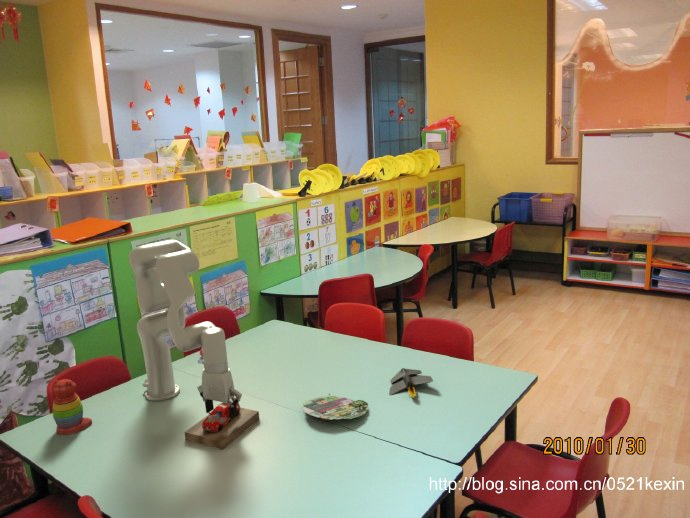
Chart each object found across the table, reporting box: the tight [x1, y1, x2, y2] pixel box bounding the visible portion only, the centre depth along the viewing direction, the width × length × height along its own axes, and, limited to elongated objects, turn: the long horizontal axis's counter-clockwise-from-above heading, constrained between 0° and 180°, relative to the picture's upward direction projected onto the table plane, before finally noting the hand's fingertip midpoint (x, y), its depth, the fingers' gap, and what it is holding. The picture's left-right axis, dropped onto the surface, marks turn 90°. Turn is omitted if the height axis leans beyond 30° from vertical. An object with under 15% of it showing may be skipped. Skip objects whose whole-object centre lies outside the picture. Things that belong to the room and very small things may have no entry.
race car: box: [202, 400, 241, 432], centre depth 191 cm, size 16×7×5 cm, turn 157°
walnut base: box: [184, 406, 260, 451], centre depth 192 cm, size 15×20×3 cm
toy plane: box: [388, 367, 434, 399], centre depth 215 cm, size 25×17×5 cm
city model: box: [301, 392, 369, 423], centre depth 199 cm, size 25×23×6 cm
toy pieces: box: [197, 347, 203, 365], centre depth 250 cm, size 12×11×4 cm
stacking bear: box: [52, 378, 93, 436], centre depth 197 cm, size 11×10×18 cm
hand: (221, 413), depth 191 cm, fingers open, 9 cm apart
